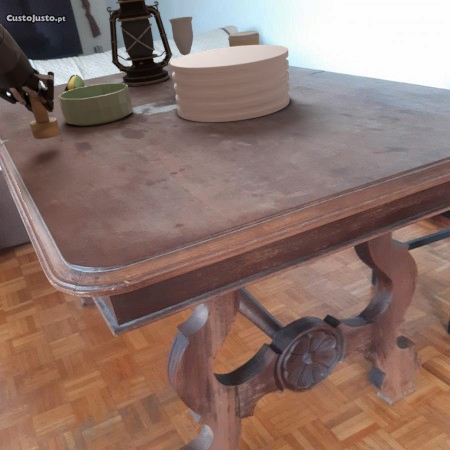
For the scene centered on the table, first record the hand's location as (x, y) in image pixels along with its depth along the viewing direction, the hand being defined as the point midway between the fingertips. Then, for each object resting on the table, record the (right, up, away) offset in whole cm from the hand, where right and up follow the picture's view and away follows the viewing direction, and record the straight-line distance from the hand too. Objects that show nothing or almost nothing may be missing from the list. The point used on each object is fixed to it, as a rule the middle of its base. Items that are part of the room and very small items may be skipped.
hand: (43, 108), depth 101 cm
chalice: (+28, +24, +43) cm, 57 cm away
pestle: (0, -5, +1) cm, 5 cm away
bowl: (+6, +7, +22) cm, 24 cm away
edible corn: (-9, +26, +52) cm, 59 cm away
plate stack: (+41, +7, +17) cm, 45 cm away
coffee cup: (+46, +28, +46) cm, 71 cm away
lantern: (+12, +33, +58) cm, 68 cm away
